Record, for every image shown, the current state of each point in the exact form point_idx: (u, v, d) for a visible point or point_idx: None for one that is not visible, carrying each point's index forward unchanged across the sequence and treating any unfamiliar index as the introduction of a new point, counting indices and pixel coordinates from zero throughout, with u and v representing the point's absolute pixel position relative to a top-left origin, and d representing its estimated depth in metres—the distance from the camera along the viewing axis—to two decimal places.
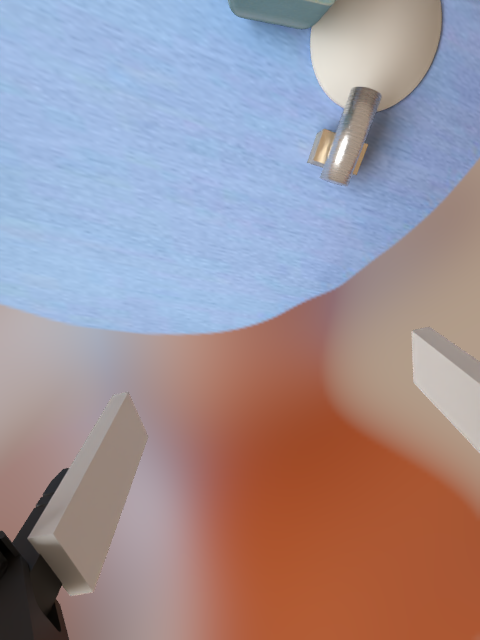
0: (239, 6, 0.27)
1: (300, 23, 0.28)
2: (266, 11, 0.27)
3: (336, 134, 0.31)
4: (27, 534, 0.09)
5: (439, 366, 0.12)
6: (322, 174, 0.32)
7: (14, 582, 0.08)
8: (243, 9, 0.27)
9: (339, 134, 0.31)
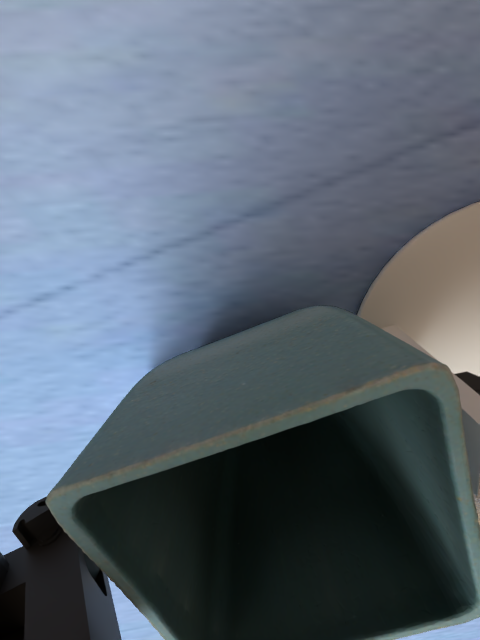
0: None
1: None
2: None
3: None
4: None
5: None
6: None
7: (68, 545, 0.08)
8: None
9: None
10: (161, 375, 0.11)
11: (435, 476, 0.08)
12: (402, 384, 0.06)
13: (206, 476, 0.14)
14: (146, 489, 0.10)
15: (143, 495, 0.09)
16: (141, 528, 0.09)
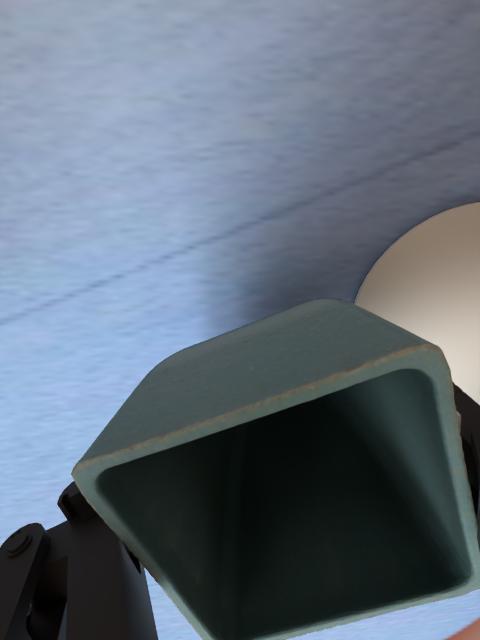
0: None
1: None
2: None
3: None
4: None
5: None
6: None
7: None
8: None
9: None
10: (173, 364, 0.11)
11: (431, 455, 0.08)
12: (398, 364, 0.06)
13: (214, 463, 0.14)
14: (160, 470, 0.10)
15: (157, 475, 0.10)
16: (156, 505, 0.09)
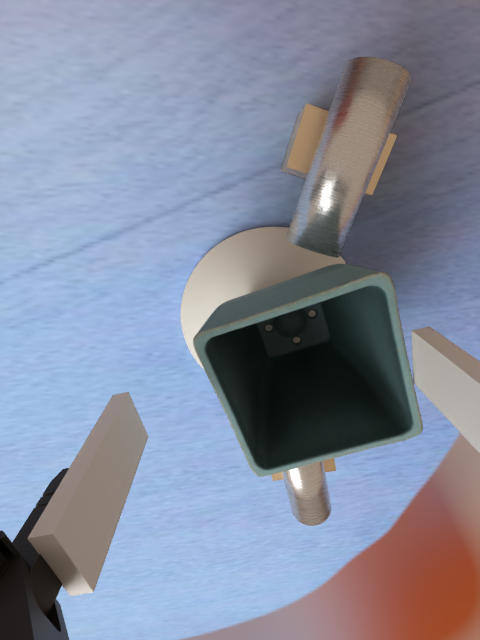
0: None
1: None
2: None
3: (282, 473, 0.23)
4: (27, 534, 0.09)
5: (439, 366, 0.12)
6: None
7: (14, 582, 0.08)
8: None
9: (285, 479, 0.22)
10: (234, 300, 0.18)
11: (390, 347, 0.15)
12: (367, 282, 0.13)
13: (251, 379, 0.21)
14: (226, 361, 0.17)
15: (225, 363, 0.16)
16: (226, 377, 0.16)
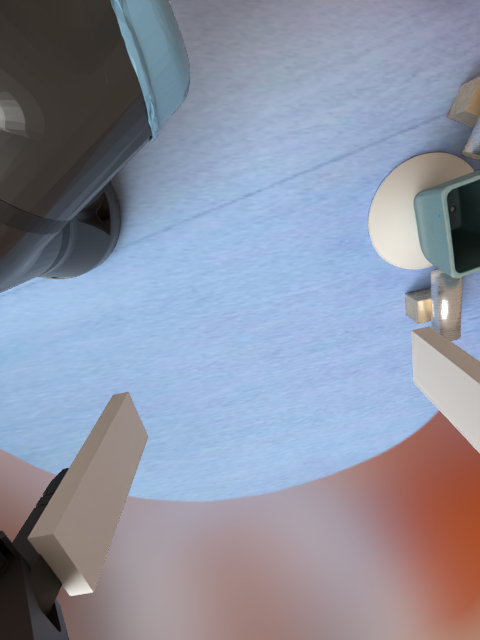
0: None
1: None
2: None
3: (434, 308, 0.37)
4: (27, 534, 0.09)
5: (439, 366, 0.12)
6: None
7: (14, 582, 0.08)
8: None
9: (438, 309, 0.36)
10: None
11: None
12: None
13: None
14: None
15: None
16: None
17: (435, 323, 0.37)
